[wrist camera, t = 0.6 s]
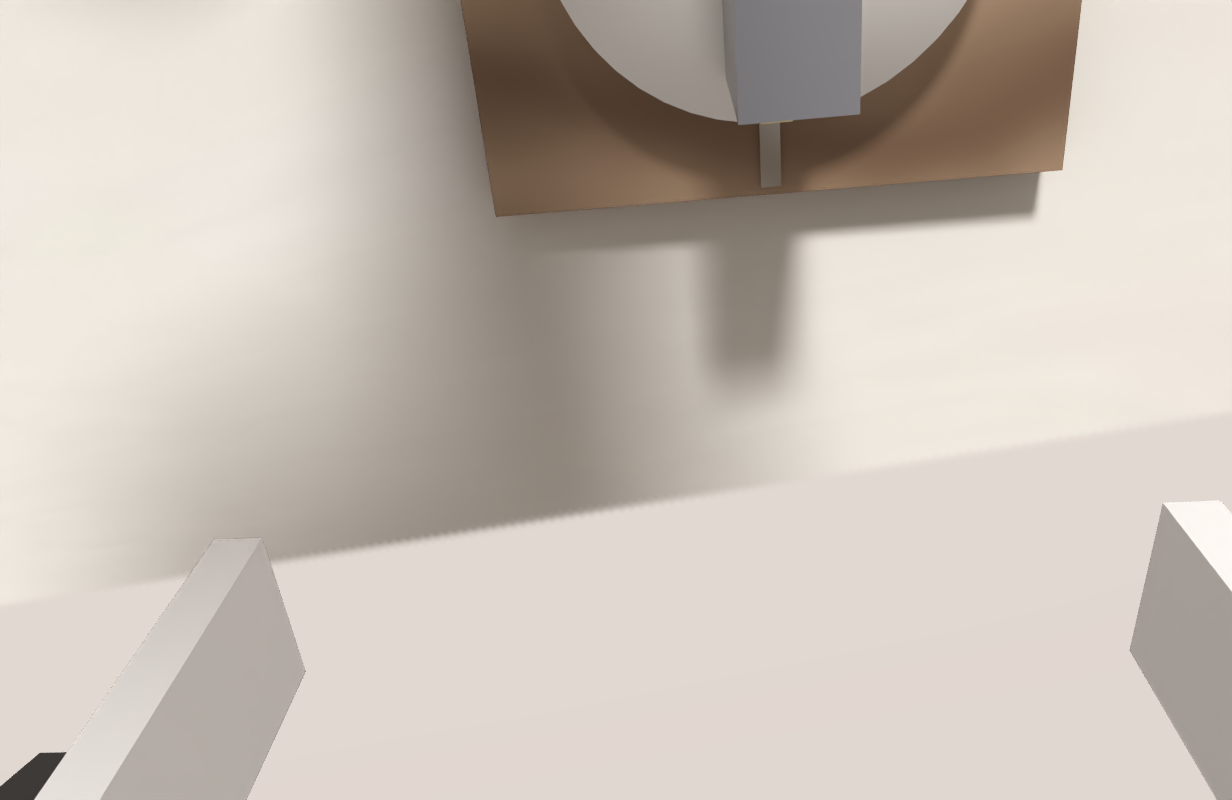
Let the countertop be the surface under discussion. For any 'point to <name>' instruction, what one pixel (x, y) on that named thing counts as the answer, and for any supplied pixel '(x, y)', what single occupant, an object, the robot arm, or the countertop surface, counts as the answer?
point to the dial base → (759, 153)
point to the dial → (761, 51)
